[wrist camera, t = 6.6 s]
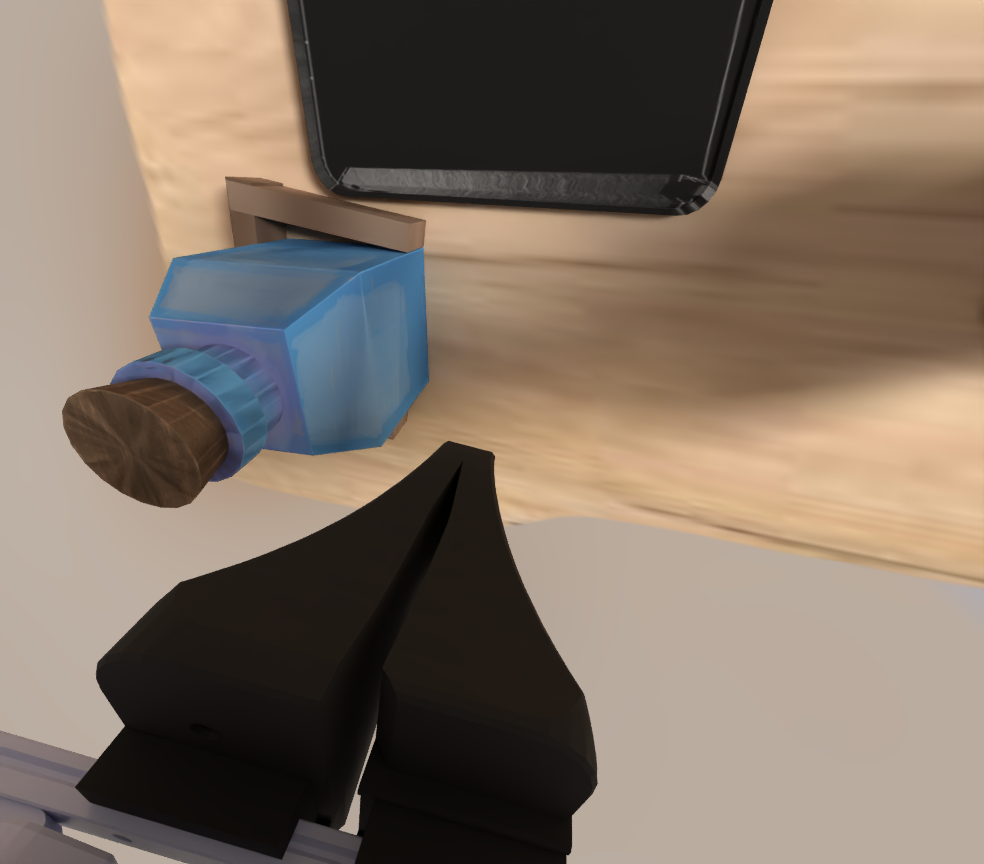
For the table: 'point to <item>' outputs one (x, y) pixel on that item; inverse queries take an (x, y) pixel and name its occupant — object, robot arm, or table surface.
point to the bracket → (314, 220)
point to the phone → (526, 99)
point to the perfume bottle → (259, 365)
